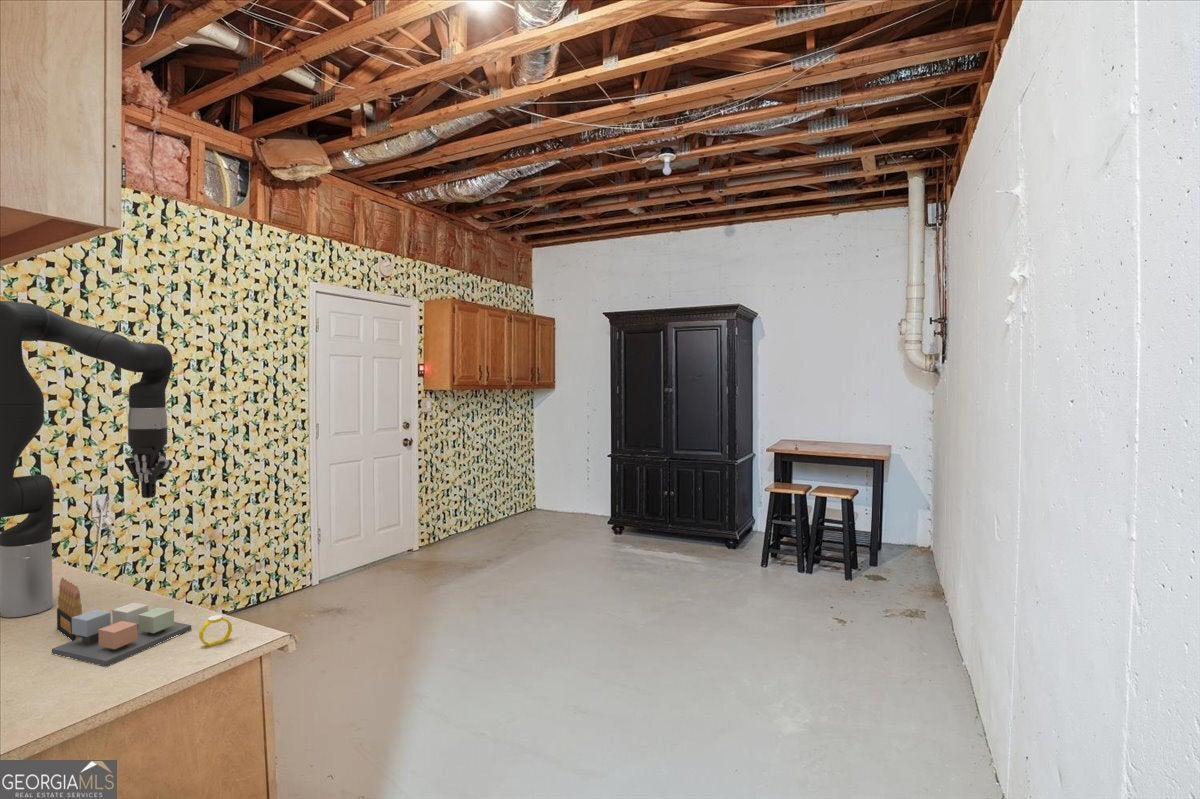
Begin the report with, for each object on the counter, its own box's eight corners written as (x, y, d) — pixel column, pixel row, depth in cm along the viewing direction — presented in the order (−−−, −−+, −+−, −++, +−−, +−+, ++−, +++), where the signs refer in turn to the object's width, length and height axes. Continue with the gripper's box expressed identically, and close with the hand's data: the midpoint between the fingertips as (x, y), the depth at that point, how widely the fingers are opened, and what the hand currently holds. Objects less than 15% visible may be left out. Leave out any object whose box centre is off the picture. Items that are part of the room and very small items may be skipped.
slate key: (71, 633, 126) (71, 617, 125) (95, 625, 130) (95, 609, 130) (87, 636, 124) (86, 620, 124) (110, 628, 129) (110, 612, 129)
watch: (203, 651, 127) (200, 624, 127) (199, 646, 129) (196, 620, 128) (234, 639, 132) (231, 614, 131) (229, 636, 134) (227, 610, 133)
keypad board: (51, 654, 124) (51, 636, 124) (140, 620, 141) (140, 604, 141) (106, 666, 119) (106, 647, 119) (191, 630, 136) (191, 613, 136)
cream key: (112, 625, 133) (112, 609, 133) (133, 617, 138) (133, 602, 138) (127, 628, 132) (127, 612, 132) (148, 619, 136) (148, 605, 136)
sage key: (138, 630, 131) (138, 614, 131) (159, 621, 135) (159, 607, 135) (153, 633, 130) (153, 617, 130) (174, 624, 134) (174, 609, 134)
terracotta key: (98, 645, 123) (98, 629, 123) (122, 636, 128) (121, 620, 128) (114, 649, 122) (114, 632, 122) (137, 639, 126) (137, 623, 126)
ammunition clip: (84, 638, 131) (83, 585, 130) (73, 641, 129) (72, 588, 129) (67, 626, 137) (66, 575, 136) (56, 629, 135) (55, 578, 135)
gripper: (111, 426, 140) (112, 498, 141) (152, 428, 136) (153, 502, 137) (143, 423, 147) (144, 492, 148) (183, 426, 144) (184, 496, 144)
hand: (148, 497), depth 143 cm, fingers closed
